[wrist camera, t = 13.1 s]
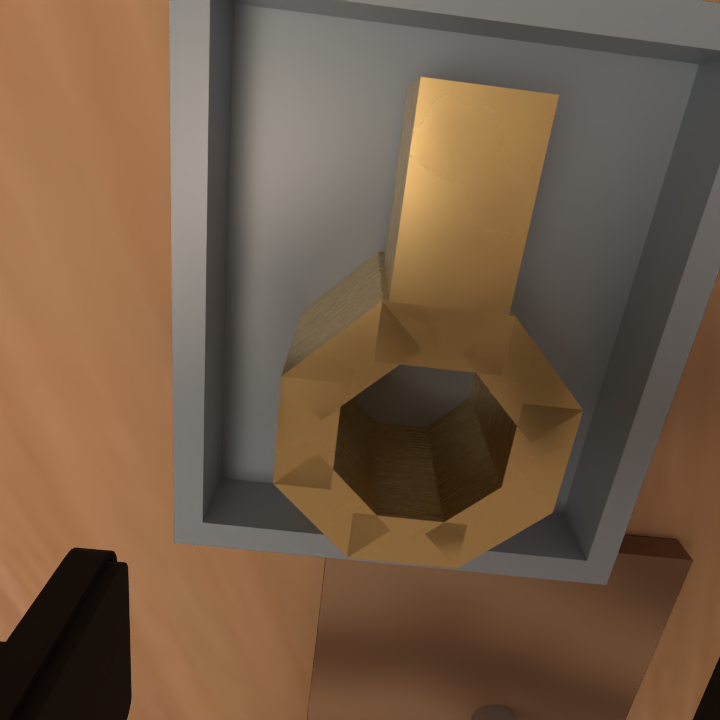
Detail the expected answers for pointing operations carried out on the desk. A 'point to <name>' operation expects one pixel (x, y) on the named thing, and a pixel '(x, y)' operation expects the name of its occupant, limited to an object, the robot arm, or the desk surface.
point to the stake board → (490, 639)
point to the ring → (434, 349)
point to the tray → (371, 220)
